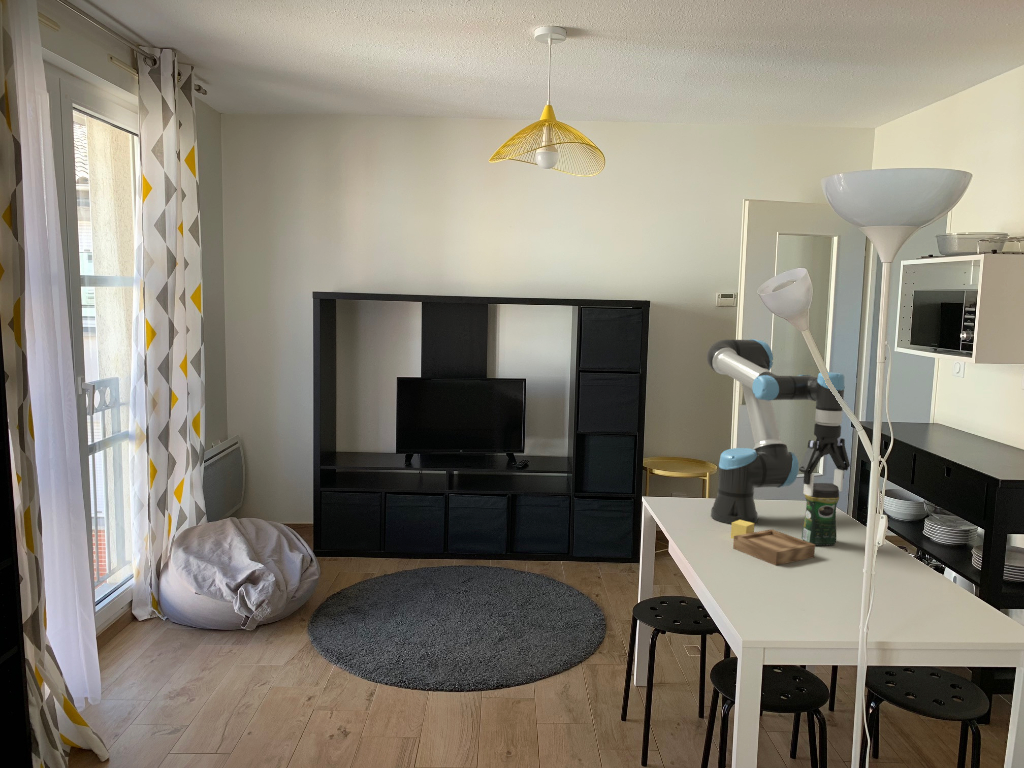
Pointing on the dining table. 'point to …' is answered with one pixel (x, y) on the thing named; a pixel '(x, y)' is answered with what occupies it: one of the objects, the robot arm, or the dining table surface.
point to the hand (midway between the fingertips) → (822, 492)
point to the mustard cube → (741, 528)
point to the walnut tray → (774, 547)
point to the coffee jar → (821, 515)
